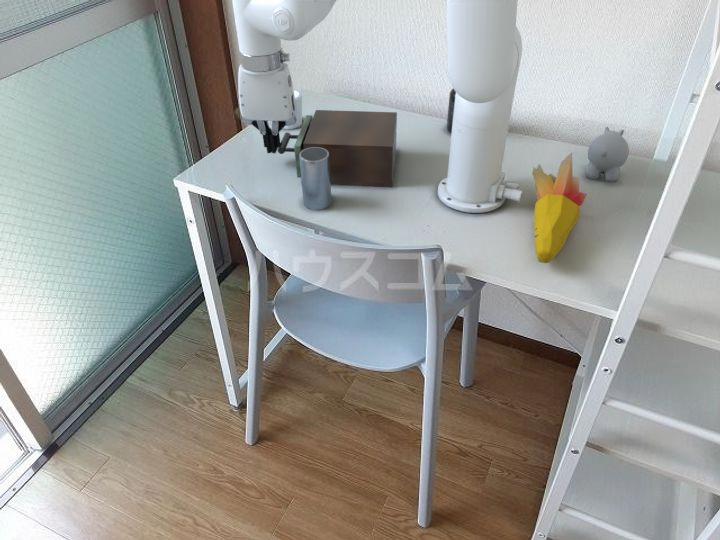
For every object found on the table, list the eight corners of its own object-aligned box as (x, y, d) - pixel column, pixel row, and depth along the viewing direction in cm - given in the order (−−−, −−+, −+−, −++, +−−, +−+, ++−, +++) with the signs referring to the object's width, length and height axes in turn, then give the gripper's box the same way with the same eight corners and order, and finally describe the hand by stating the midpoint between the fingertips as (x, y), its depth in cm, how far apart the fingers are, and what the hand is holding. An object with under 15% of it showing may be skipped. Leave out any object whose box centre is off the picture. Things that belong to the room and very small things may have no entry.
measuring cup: (306, 194, 109) (302, 146, 103) (333, 195, 109) (330, 147, 102) (300, 213, 104) (295, 164, 98) (328, 214, 104) (325, 165, 98)
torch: (531, 286, 94) (548, 191, 110) (581, 279, 89) (592, 181, 105) (512, 250, 89) (533, 157, 105) (564, 241, 85) (578, 145, 101)
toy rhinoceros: (626, 159, 118) (638, 120, 112) (618, 187, 109) (631, 147, 104) (590, 152, 120) (600, 113, 115) (579, 179, 112) (589, 139, 107)
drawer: (276, 176, 113) (272, 145, 108) (289, 144, 123) (286, 114, 119) (376, 180, 111) (376, 148, 107) (381, 147, 121) (381, 117, 117)
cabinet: (306, 183, 112) (303, 143, 107) (318, 147, 123) (315, 109, 118) (391, 187, 111) (392, 146, 105) (395, 150, 122) (396, 112, 117)
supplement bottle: (481, 135, 127) (489, 81, 119) (452, 138, 126) (457, 85, 118) (470, 121, 132) (476, 69, 124) (442, 124, 131) (446, 72, 123)
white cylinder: (303, 130, 130) (300, 100, 125) (272, 130, 130) (269, 100, 126) (305, 117, 135) (303, 88, 131) (276, 117, 135) (273, 88, 131)
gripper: (305, 53, 107) (312, 142, 119) (227, 51, 108) (241, 140, 120) (298, 68, 101) (306, 160, 113) (215, 66, 103) (231, 158, 114)
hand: (272, 150), depth 117 cm, fingers closed
